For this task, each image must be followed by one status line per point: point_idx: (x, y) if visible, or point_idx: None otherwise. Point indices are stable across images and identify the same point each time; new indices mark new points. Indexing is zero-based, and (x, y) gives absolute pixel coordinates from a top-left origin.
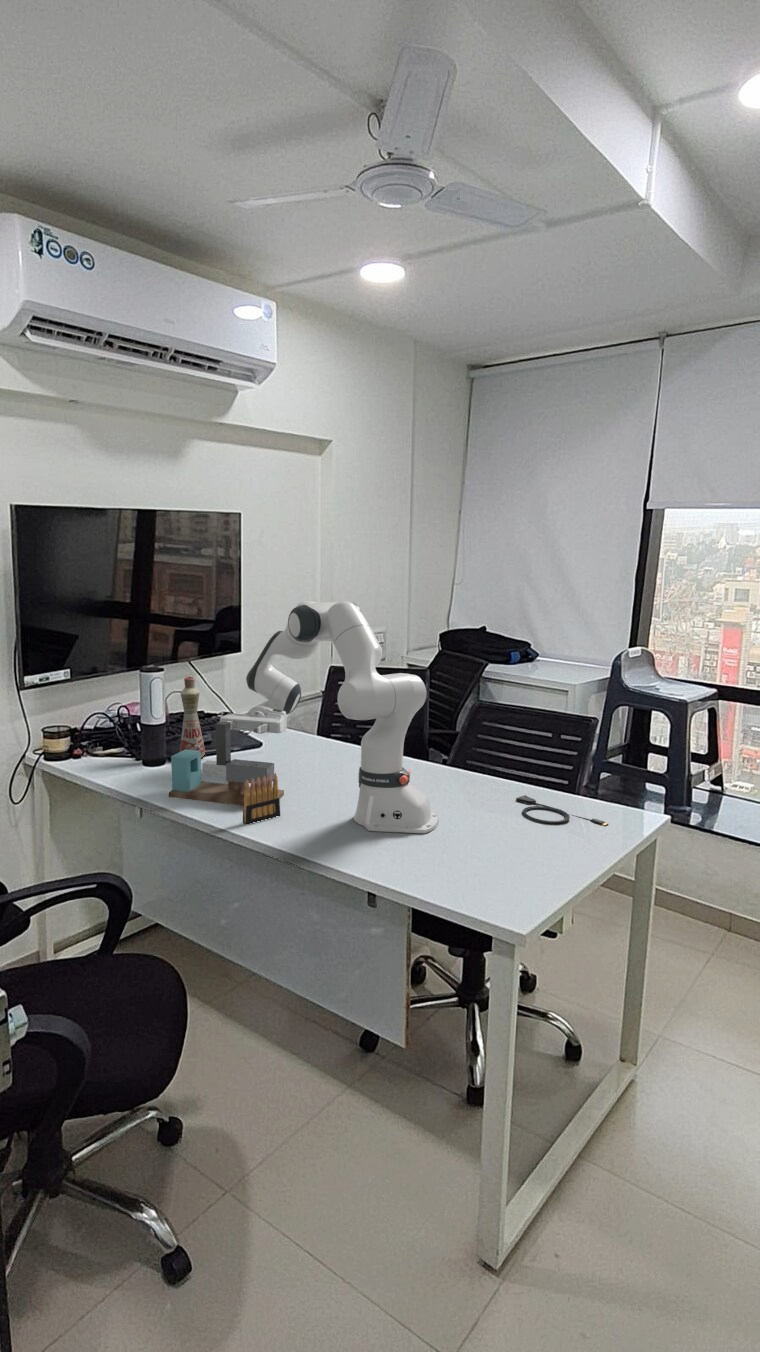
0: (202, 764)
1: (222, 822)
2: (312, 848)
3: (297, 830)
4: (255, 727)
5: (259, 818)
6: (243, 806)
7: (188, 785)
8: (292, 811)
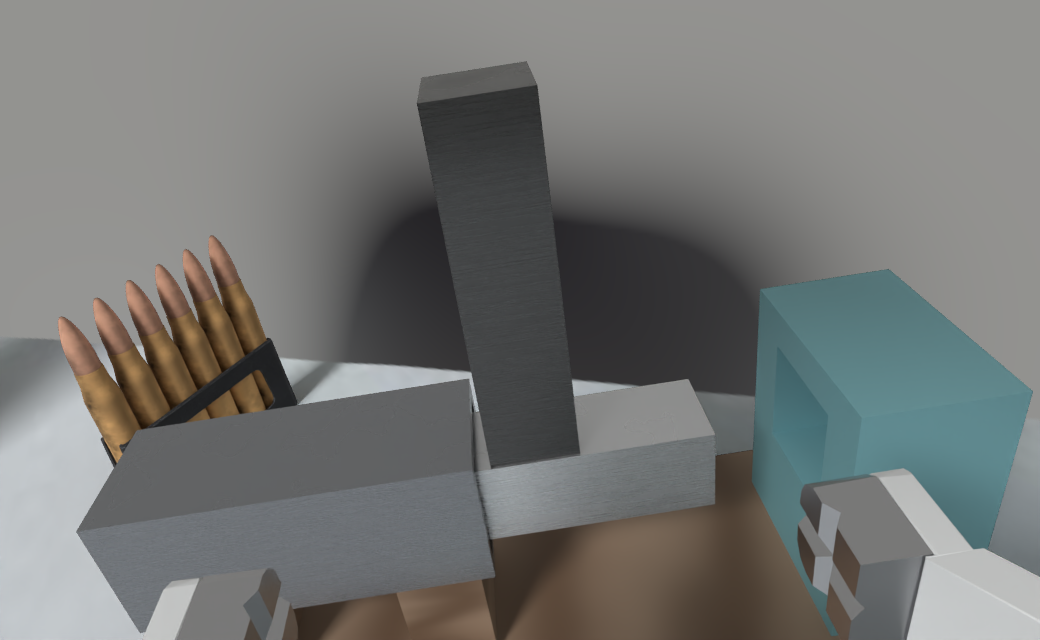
0: (684, 385)
1: (381, 380)
2: (16, 369)
3: (57, 437)
4: (242, 572)
5: None
6: (271, 345)
7: (757, 461)
8: (67, 583)
